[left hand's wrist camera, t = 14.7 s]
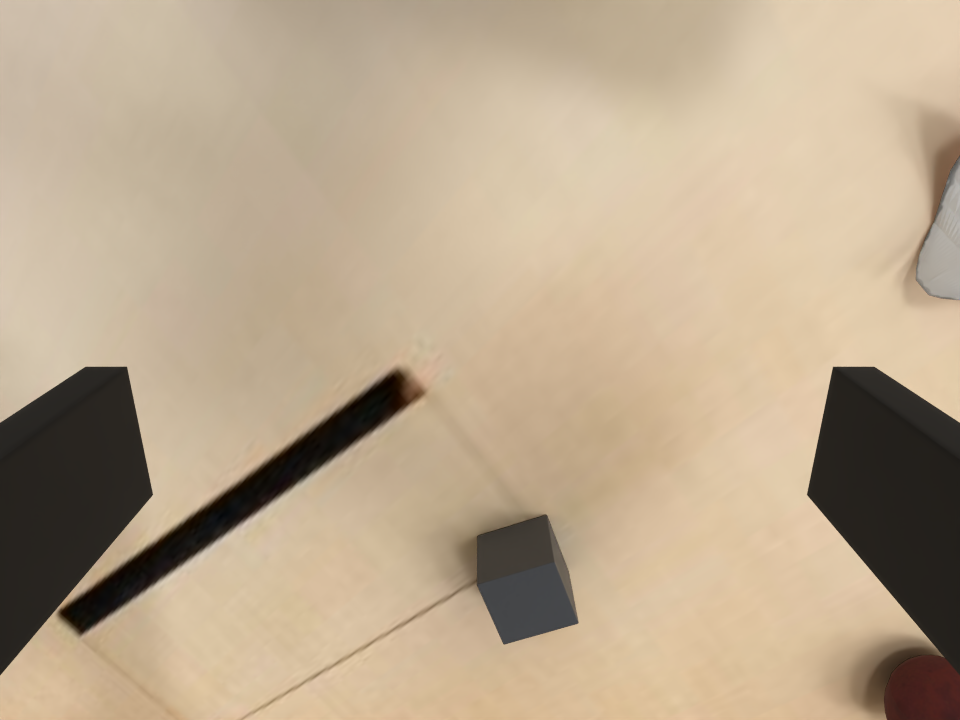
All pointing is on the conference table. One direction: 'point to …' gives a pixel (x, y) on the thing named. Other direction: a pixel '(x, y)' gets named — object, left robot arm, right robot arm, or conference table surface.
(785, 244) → the conference table surface
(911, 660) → the dark red ball
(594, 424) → the conference table surface
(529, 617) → the charcoal cube
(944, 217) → the red white cowboy hat
